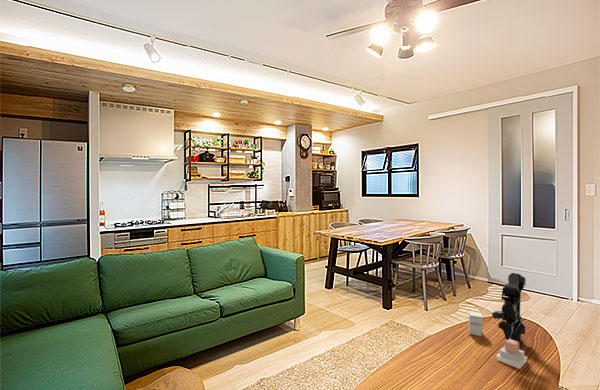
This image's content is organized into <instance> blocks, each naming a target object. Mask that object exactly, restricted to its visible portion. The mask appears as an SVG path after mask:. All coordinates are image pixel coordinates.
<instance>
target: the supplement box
mask: <svg viewBox="0 0 600 390" xmlns="http://www.w3.org/2000/svg"><path fill="white" fill-rule="evenodd" d="M468 335H473V336H476V337H483V314H482V313H481V312H477V311H476V312H475V311H470V310H469V311H468Z"/></svg>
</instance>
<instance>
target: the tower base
mask: <svg viewBox="0 0 600 390" xmlns="http://www.w3.org/2000/svg"><path fill="white" fill-rule="evenodd" d="M496 361H498V362H501V363H504V364H505V365H509V366H512V367H514V368H516V369H519V370H520V369H521V368H522V367H524V366H525V364H526V363H527V361H528V357H527V356H525V355H524V358H523V359H522V360H521V361H520V362H519V363H518V362H515V361H512V360H510V359H507V358H505V357H502V356H500V352H499V353H497V354H496Z"/></svg>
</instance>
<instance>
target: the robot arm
mask: <svg viewBox="0 0 600 390" xmlns="http://www.w3.org/2000/svg"><path fill="white" fill-rule="evenodd" d="M507 279H508V280H507V281H508V283H506V284H505V285H504V286H503V287H502V291H501V300H502V301H504V302H503V304H502V306H501V310H495V311H493V312H492V313H491V316H492V317H493V319H494V320H497V319H498V320H499V319H501V320H502V321H500V322H498V324H497V326H498V328H499V329H500V330H502V331H503V335H504V337H505V341H506V340H509V339H512V340H515V341H518V342H519V345H521V344H523V342H524V339H522V335H526V326H525V324H524V320H523V317H522V316H521V302H522V301H521V299H522V298H521V296H522V295H521V293H522V291H523V290H524V288H525V286H526V281H527V280H526V277H524V276H523V275H521V274H519V273H516V272H515V273H514V272H510V274H509V275H508V277H507Z"/></svg>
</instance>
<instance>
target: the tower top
mask: <svg viewBox="0 0 600 390" xmlns="http://www.w3.org/2000/svg"><path fill="white" fill-rule="evenodd" d="M499 353H500V356H502V357H505V358H507V359H510V360H512V361H515V362H518V363H519V362H520V361H521V360H522V359H523V358H524V356H525V354H526V353H525V350H521V349H519V352H517V353H516V354H514V353H511V352H508V351H506V350H505V345H504V346H503V347H502V348H500V349H499Z"/></svg>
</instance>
